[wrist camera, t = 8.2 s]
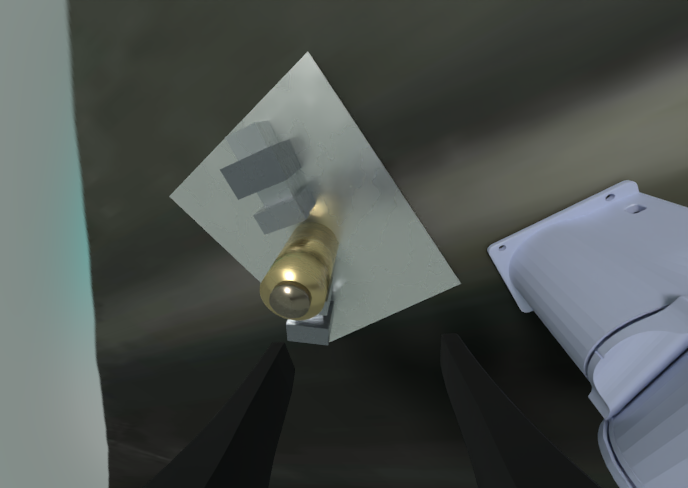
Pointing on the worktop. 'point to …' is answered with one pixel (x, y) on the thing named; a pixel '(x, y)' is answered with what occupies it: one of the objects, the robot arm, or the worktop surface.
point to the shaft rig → (316, 205)
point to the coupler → (301, 273)
